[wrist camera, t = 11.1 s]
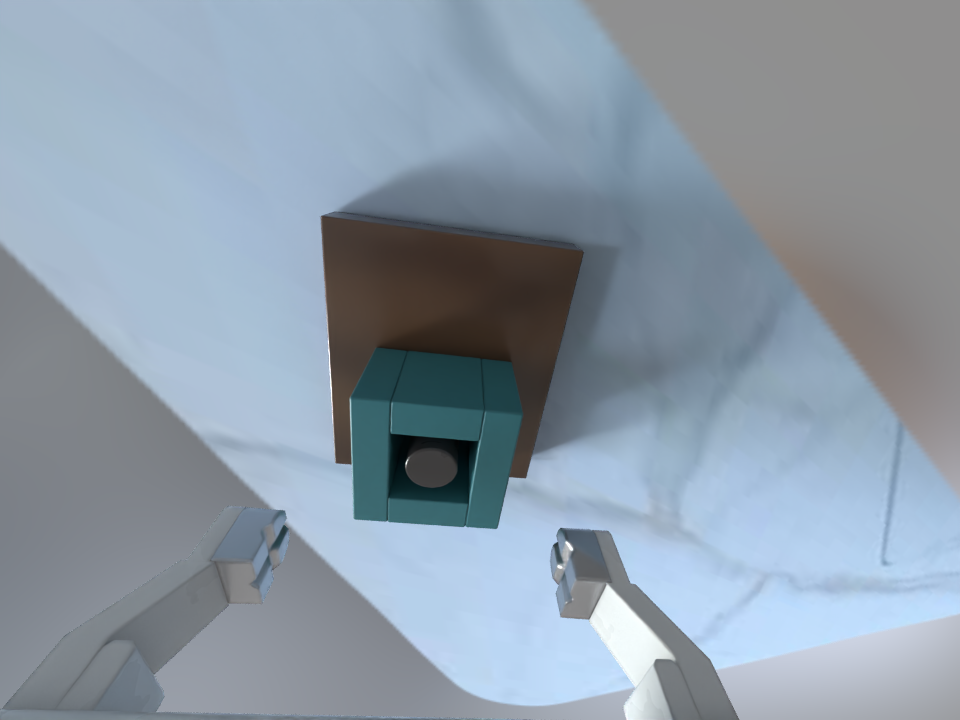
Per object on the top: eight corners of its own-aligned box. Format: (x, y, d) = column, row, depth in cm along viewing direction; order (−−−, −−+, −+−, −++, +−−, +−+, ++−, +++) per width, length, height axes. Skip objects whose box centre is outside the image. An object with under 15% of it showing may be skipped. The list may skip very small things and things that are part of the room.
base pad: (333, 211, 15) (266, 231, 10) (574, 244, 16) (623, 278, 11) (343, 444, 20) (303, 531, 15) (522, 459, 21) (538, 546, 16)
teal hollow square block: (375, 346, 16) (348, 397, 12) (512, 361, 16) (524, 414, 13) (374, 453, 19) (352, 520, 15) (492, 462, 19) (497, 530, 16)
